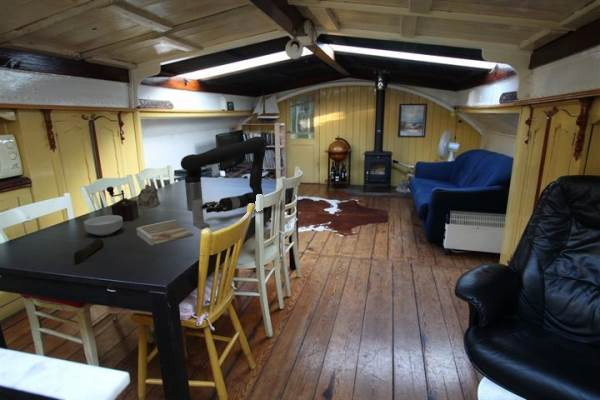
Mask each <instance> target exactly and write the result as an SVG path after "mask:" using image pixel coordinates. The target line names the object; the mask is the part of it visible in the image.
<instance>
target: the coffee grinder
mask: <svg viewBox="0 0 600 400" xmlns="http://www.w3.org/2000/svg"><path fill="white" fill-rule="evenodd" d="M114 190H115V188H114V186H107V188H106V189H105V191H106V192H108V193H109V196H110V197H111V198H113V197H120V196H121V197H122V199H119V200H118V201H116V202H115V203H113V204H111V205H110V207H111V215H117V216H121V217H122V218H123V223H124V222H125V223H126V222H133V221H135V220H136V219H138V218H139V217H140V215H139V209H138V206H137V204H138V200H132V199H128V198H127V197H125V192H124V191H125V190H123V189H122V190H121V191H120V192H121V193H119V194H115V192H114Z"/></svg>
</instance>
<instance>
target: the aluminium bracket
mask: <svg viewBox="0 0 600 400" xmlns="http://www.w3.org/2000/svg"><path fill="white" fill-rule="evenodd" d="M202 199H203V198H202ZM202 199H201V198H198V199H193V200H191V203H192V211H191V212H192V213H191V214H192V222H193V224H192V225H193V226H194V227H195V228H197V229H198V230H203V229H207V228H206V227H208V228H210V223H208V222H206V221H205V220H204V219H205V218H204V209H203V205H204V204H203V205H202Z"/></svg>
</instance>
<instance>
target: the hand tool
mask: <svg viewBox="0 0 600 400" xmlns="http://www.w3.org/2000/svg"><path fill="white" fill-rule="evenodd" d="M104 246H105V244H104V241H103V239H98V238H97V239H95V240H94V241H93V242H92V243H90V244H88V245H87V246H85V247H84V248H82V249H80V248H79V249H78V250H76V251H75V252H74V254H73V260H74V264H75V265H78V264H80V263H82V262H84V261H85V260H87V257H89V256H90V255H92V254H93V253H95V252H96V251H97V250H99V249H100V248H104ZM83 260H84V261H83ZM77 263H78V264H77Z"/></svg>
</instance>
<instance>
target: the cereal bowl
mask: <svg viewBox="0 0 600 400" xmlns="http://www.w3.org/2000/svg"><path fill="white" fill-rule="evenodd" d="M123 224H124V222H123V218H122V217H121V216H117V215H112V214H109V215H101V216H96V217H92V218H89V219H86V220H85V221H83V227H84V228H85V229H84V230H86V232H87V233H90V234H92V235H96V236H98V235H99V237H101V236H103V237H104V235H105V236H109V235H113V234H114V233H115V232H116V231H119V230H120V229H121V227H122V226H123Z"/></svg>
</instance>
